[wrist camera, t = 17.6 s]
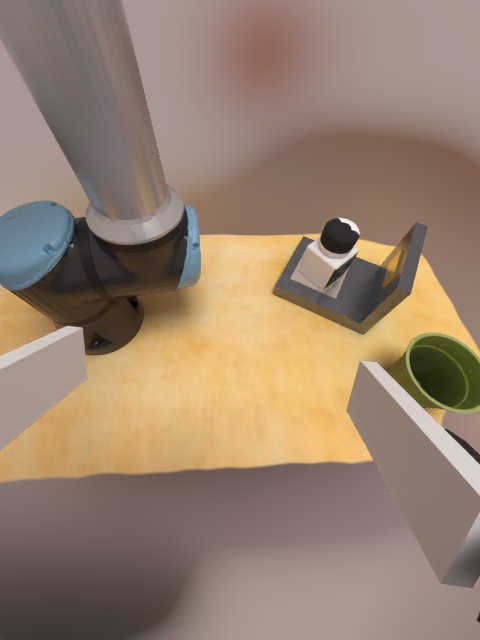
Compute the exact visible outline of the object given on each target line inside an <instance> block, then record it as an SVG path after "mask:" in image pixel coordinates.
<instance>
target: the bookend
mask: <svg viewBox="0 0 480 640" xmlns="http://www.w3.org/2000/svg"><path fill="white" fill-rule="evenodd" d="M426 231H427V226H425V225H422V224H419V223H415V224H414V225H413V227H412V228H411V229H410V230H409V232H408V233H407V234H406V235H405V236H404V238H403V239H402V240H401V241H400V243H399V244H398V245H397V246H396V247H395V249H394V250H393V251H392V252H391V254H390V255H389V256H388V257H387V258H386V260H385V261H384V262H383V263H382V265H381V266H378V265H375V264H373V263H370V262H368V261H365V260H363V259H360V258H357V257H355V258H354V260H353V261H352V263H351V264H350V266H349V267H348V269H347V271H346V272H345V274H343V275H342V276H341V277H340V278H338V279H337V280H336V281H335V282H334V283H332V284H331V285H330V286H329V287H327V288H326V289H325V290H322V289H321V288H320V287H318V286H317V285H316V284H315V283H314V282H313V281H311V280H310V279H309V278H308V277H307V276H305V275H304V274H303V273H302V272H301V271H300V270H299V267H300V264H301V261H302V259H303V256H304V253H305V251H306V248H307V246H308V245H309V244H311V243H312V242H314V240H312V239H309V238H307V237H304V236H303V238H302V240H301V241H300V243H299V245H298V247H297V248H296V250H295V252H294V254H293V256H292V257H291V259H290V261H289V263H288V264H287V266H286V268H285V270H284V271H283V273H282V275H281V277H280V278H279V280H278V282H277V284H276V286H275V289H274V292H273V294H274V295H277V296H279V297H281V298H283V299H285V300H288V301H290V302H292V303H294V304H297V305H299V306H301V307H303V308H305V309H308V310H310V311H312V312H314V313H316V314H319V315H321V316H323V317H325V318H328V319H330V320H332V321H334V322H336V323H339V324H341V325H343V326H345V327H347V328H350V329H352V330H354V331H356V332H358V333H361V334H363V335H364V334H365V333H366V332H367V331H368V330H369V329H370V328H372V327H373V326H374V325H375V324H376V323H377V322H379V321H380V320H381V319H382V318H383V317H384V316H385V315H387V314H388V313H389V312H390V311H391V310H392V309H394V308H395V307H396V306H397V305H398V304H399V303H401V302H402V301H403V300H404V299H405V298H406V297H407V296H409V295H410V294H411V291H412V287H413V283H414V279H415V275H416V271H417V267H418V263H419V259H420V255H421V250H422V247H423V243H424V238H425V234H426Z"/></svg>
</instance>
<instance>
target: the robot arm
mask: <svg viewBox="0 0 480 640" xmlns="http://www.w3.org/2000/svg"><path fill="white" fill-rule="evenodd" d="M0 39H1V41H2V43H3V45H4V46H5V48H6V50H7V52H8V54H9V56H10V57H11V59H12V61H13V63H14V65H15V66H16V68H17V70H18V72H19V74H20V75H21V77H22V79H23V81H24V83H25V84H26V86H27V88H28V90H29V92H30V93H31V95H32V97H33V99H34V101H35V103H36V104H37V106H38V108H39V110H40V112H41V113H42V115H43V117H44V119H45V121H46V123H47V124H48V126H49V128H50V130H51V132H52V133H53V135H54V137H55V139H56V141H57V142H58V144H59V146H60V148H61V150H62V151H63V153H64V155H65V157H66V159H67V161H68V162H69V164H70V166H71V168H72V170H73V171H74V173H75V175H76V177H77V178H78V180H79V182H80V184H81V186H82V188H83V189H84V191H85V193H86V195H87V197H88V199H89V200H90V203H89V205H88V207H87V210H86V217H82V218H74V216H73V215H72V213H71V212H70V211H69V210H67V209H66V208H65V207H63V206H62V205H60V204H57V203H56V202H52V201H36V202H30V203H26V204H23V205H21V206H18V207H16V208H14V209H12V210H10V211H8V212H7V213H5V214H4V215H2V216H1V217H0V284H1V285H2V286H3V287H4V288H6V289H8V290H9V291H11V292H12V293H14V294H15V295H17V296H18V297H19V298H21V299H22V300H24V301H25V302H27V303H28V304H30V305H31V306H32V307H34V308H35V309H37V310H38V311H40V312H41V313H43V314H44V315H45V316H47V317H48V318H50V319H51V320H53V322H54V324H55V326H56V328H57V331H55V332H52V333H50V334H48V335H46V336H44V337H41V338H39V339H37V340H35V341H33V342H30V343H28V344H26V345H24V346H21V347H19V348H17V349H15V350H13V351H10V352H8V353H6V354H4V355H2V356H0V450H2V449H3V448H4V447H5V446H6V445H8V444H9V443H10V442H11V441H12V440H14V439H15V438H16V437H17V436H18V435H20V434H21V433H22V432H23V431H25V430H26V429H27V428H28V427H29V426H31V425H32V424H33V423H34V422H35V421H37V420H38V419H39V418H40V417H42V416H43V415H44V414H45V413H46V412H48V411H49V410H50V409H51V408H52V407H54V406H55V405H56V404H57V403H59V402H60V401H61V400H62V399H63V398H65V397H66V396H67V395H68V394H69V393H71V392H72V391H73V390H74V389H76V388H77V387H78V386H79V385H80V384H82V383H83V382H84V381H85V380H86V379H87V368H86V357H85V354H88V355H102V354H107V353H110V352H113V351H115V350H118V349H119V348H121V347H123V346H124V345H126V344H127V343H128V342H129V341H130V340H131V339H132V338H133V337H134V336H135V335H136V334H137V332H138V330H139V329H140V327H141V324H142V321H143V307H142V304H141V302H140V300H139V299H138V297H137V296H138V295H145V294H153V293H160V292H167V291H177V290H178V289H181V288H186V287H191V286H194V285H195V284H196V283H197V282H198V281H199V278H200V273H201V253H200V247H199V246H200V242H199V241H200V237H199V228H198V221H197V216H196V212H195V209H194V208H193V207H192V206H187V205H184V204H183V200H182V198H181V196H180V194H179V193H178V192H177V191H176V190H175V189H174V188H173V187H171V186H169V185H168V184H166V181H165V177H164V172H163V168H162V164H161V160H160V156H159V151H158V147H157V143H156V139H155V135H154V131H153V126H152V122H151V118H150V114H149V110H148V106H147V101H146V98H145V93H144V89H143V85H142V81H141V76H140V72H139V68H138V64H137V60H136V56H135V52H134V47H133V43H132V39H131V35H130V31H129V26H128V22H127V18H126V14H125V10H124V6H123V2H122V0H0ZM347 412H348V414H349V416H350V418H351V420H352V421H353V423H354V425H355V427H356V429H357V431H358V433H359V434H360V436H361V438H362V440H363V442H364V444H365V445H366V447H367V449H368V451H369V453H370V455H371V456H372V458H373V460H374V462H375V464H376V466H377V467H378V469H379V471H380V473H381V474H382V477H383V479H384V480H385V482H386V484H387V486H388V488H389V490H390V491H391V493H392V495H393V497H394V499H395V501H396V502H397V504H398V506H399V508H400V510H401V512H402V514H403V515H404V517H405V519H406V521H407V523H408V524H409V526H410V528H411V530H412V532H413V534H414V536H415V537H416V539H417V541H418V543H419V545H420V546H421V548H422V550H423V552H424V554H425V556H426V558H427V560H428V561H429V563H430V565H431V567H432V569H433V571H434V572H435V574H436V576H437V578H438V580H439V582H440V583H441V584H447V585H454V586H462V587H469V588H473V586H474V584H475V583H476V581H477V579H478V578H479V576H480V455H479V454H478V453H477V452H476V451H475V450H474V449H473V448H472V447H471V446H470V445H469V444H468V443H467V442H466V441H464V440H463V439H461V438H460V437H458V436H457V435H455V434H454V433H452V432H451V431H449V430H448V429H443V428H442V427H441V426H440V425H439V424H438V423H437V422H436V421H435V420H434V419H433V418H432V417H431V416H430V415H429V414H428V413H427V412H426V411H425V410H424V409H423V408H422V407H421V406H420V405H419V404H418V403H417V402H416V401H415V400H414V399H413V398H412V397H411V396H410V395H409V394H408V393H407V392H406V391H405V390H404V389H403V388H402V387H401V386H400V385H399V384H398V383H397V382H396V381H395V380H394V379H393V378H392V377H391V376H390V375H389V374H388V373H387V372H386V371H385V370H384V369H383V368H382V367H381V366H380V365H379V364H378V363H377V362H369V361H361V360H360V363H359V367H358V370H357V374H356V377H355V381H354V385H353V388H352V392H351V396H350V399H349V403H348V406H347ZM477 621H478V622H480V613H479V615H478V618H477Z"/></svg>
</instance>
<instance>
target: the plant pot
mask: <svg viewBox="0 0 480 640" xmlns="http://www.w3.org/2000/svg"><path fill="white" fill-rule="evenodd" d="M386 372H387V373H388V374H389V375H390V376H391V377H392V378H393V379H394V380H395V381H396V382H397V383H398V384H399V385H400V386H401V387H402V388H403V389H404V390H405V391H406V392H407V393H408V394H409V395H410V396H411V397H412V398H413V399H414V400H415V401H416V402H417V403H418V404H419V405H420V406H421V407H422V408H439V409H444V410H448V411H451V412H455V413H463V414H469V413H474V412H477V411H479V410H480V358H479V357H478V356H477V355H476V354H475V352H474V351H473V350H471V349H470V348H469V347H468V346H467V345H465V344H464V343H462V342H461V341H459V340H457V339H455V338H453V337H451V336H448V335H445V334H441V333H425V334H421V335H419V336H417V337H416V338H414V339H413V340H412V341H411V342H410V344H409V345H408V348H407V350H406V352H405V353H404V355H403V356H402V357H401V358H400V359H399V360H398V361H397V362H396V363H395V364H394V365H392V366H391V367H390V368H389V369H388V370H387V371H386Z"/></svg>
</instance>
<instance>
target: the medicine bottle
mask: <svg viewBox="0 0 480 640" xmlns="http://www.w3.org/2000/svg"><path fill="white" fill-rule="evenodd" d="M359 236H360V232H359V229H358V227H357V226H356V224H354V223H353V222H352V221H350V220H347V219H344V218H335V219H332V220H330V221H328V222H327V223H326V225H325V227H324V230H323V232H322V234H321V237H319V238H318V239H316V240H315V241H314V242H312V243H311V244H309V245H308V246H307V248H306V251H305V253H304V256H303V259H302V261H301V264H300V267H299V270H300V271H301V272H302V273H303V274H304V275H305V276H307V277H308V278H309V279H310V280H311V281H313V282H314V283H315V284H316V285H317V286H318V287H320V288H321V289H322V290H325V289H326V288H327V287H329V286H330V285H331V284H332V283H334V282H335V281H336V280H337V279H338V278H340V277H341V276H342V275H343V274H345V272H346V271H347V269H348V267H349V266H350V264H351V263H352V261H353V260H354V258H355V257H356V255H357V254H358V252H359V250H358V249H357V248H356V247H354V245H355V243H356V242H357V240H358V238H359Z"/></svg>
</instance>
